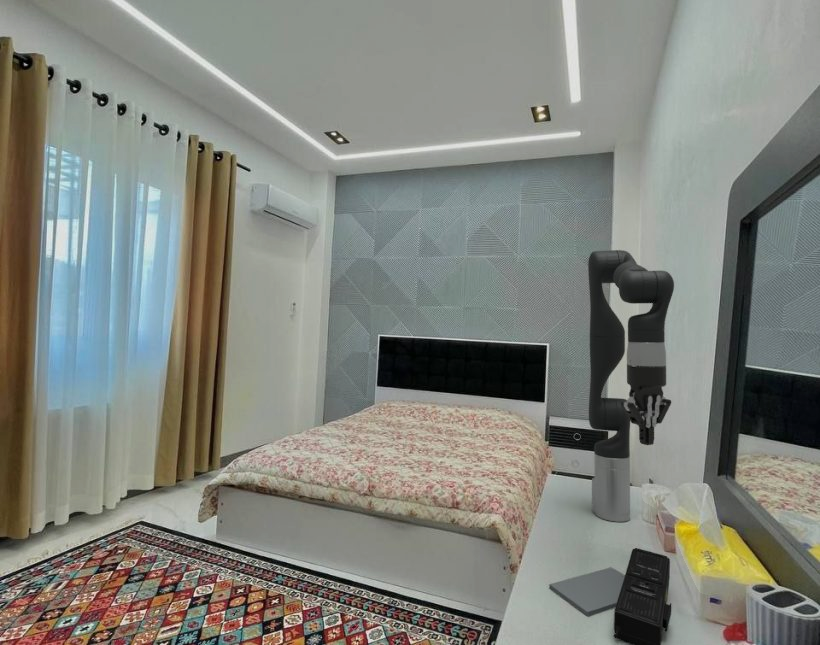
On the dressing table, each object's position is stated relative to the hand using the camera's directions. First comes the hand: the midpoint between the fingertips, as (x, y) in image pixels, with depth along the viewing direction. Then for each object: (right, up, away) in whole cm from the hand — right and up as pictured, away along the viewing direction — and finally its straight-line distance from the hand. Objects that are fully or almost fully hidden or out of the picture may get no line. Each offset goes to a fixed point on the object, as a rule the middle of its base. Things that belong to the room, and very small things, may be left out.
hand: (646, 444), depth 96 cm
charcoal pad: (-13, -27, -7) cm, 31 cm away
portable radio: (-1, -24, -4) cm, 24 cm away
